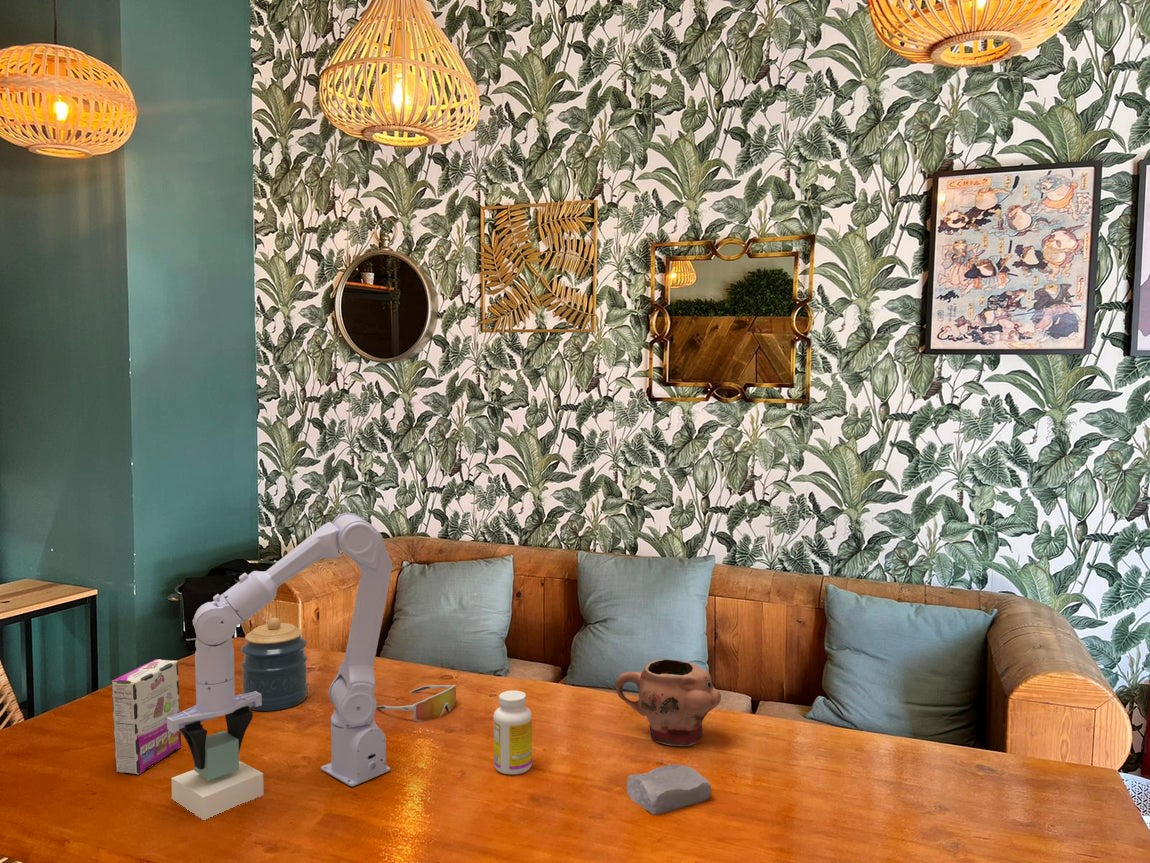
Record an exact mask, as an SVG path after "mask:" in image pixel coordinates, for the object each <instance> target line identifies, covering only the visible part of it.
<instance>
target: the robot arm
mask: <svg viewBox="0 0 1150 863" xmlns="http://www.w3.org/2000/svg"><path fill="white" fill-rule="evenodd" d="M339 551H341V552H342V553H343V554H345V555H346V556H347V557H349V558H351V559H352V561H353V562H354V563H355V565H357V567H358V568H359V569H360V571H361V572H360V576H359V583H358V587H357V592H356V595H355V596H356V598H355V603H354V608H353V613H352V618H351V624H350V629H349V634H348V638H347V642H346V643H347V644H346V648H345V654H344V659H343V661H342V662H341V663H340V665H339V667H338V671H337V675H336V676H335V678H334V680H333V681H332V683H331V684H330V686H329V689H328V698H329V701H330V702H331V703H332V705H334V707H335V708H334V710H333V712H332V715H331V717H330V742H331V743H330V746H331V747H330V750H331V752H330V754H331V758H330V759H331V762H329V763H327V764H324V765H321V767H320V770H321V771H323V772H325V773H326V774H328V775H330V776H331V777H334V778H335V779H337V780H338V781H340V782H342V783H344V784H346V785H347V786H349V787H355V786H357V785H360V784H361V783H364V782H367V781H369V780H371V779H373V778H377V777H378V776H381V775H383V774H386V773H388V772H390V771H391V766H388V765H387V738H386V734H385V732H384V731H383V730H382V729H381V728H379V726H378V725H377V723H376V721H375V713H376V710H377V708H376V707H377V699H376V697H375V687H376V678H375V671H374V670H375V668H374V665H375V659H376V655H377V649H378V644H379V639H380V634H381V630H382V626H383V625H382V624H383V618H384V613H385V609H386V603H387V597H388V593H389V587H390V582H391V579H392V578H391V577H392V572H393V561H392V559H391V558H390V555H389V553H388V550H387V547H386V545H385V542H384V539H383V535H382V534H381V533H380V531H379V530H377V529H376V528H375V527H374V525H372V523H370V522H368V521H367V520H364V519H363V518H362V517H360V516H359V515H358V514H356V513H353V512H344V513H340V514H339V515H337V516H336V517H334V518H333V520H332V521H328V522H326V523H324V524H322V525H321V526H319V528H318V529H317V530H316V531H314V532H313V533H312V534H310V535H309V536H308V537H306V538H305V539H304V540H303V541H302V542H301V543H299V544H297V545H296V546H295V547H294V548H293V549H292V550H290V551H289V552H288V553H286V554H285V555H284V556H283V557H281V558H280V559H279V560H278V561H277V562H276V563H275V564H273V565H272V566H270V567H269V568H268V569H266V570H265V571H262V570H261V571H259V570H253V571H251V572H250V573H248V574H247V573H246V572H244V573H242V574H241V575H239V577H238V580H239V581H238V582H236V583H235V584H234V585H233V586H230V587H229V588H228V589H227V590H226V591H225V592H223V593H221V594H219V593H217V594H215V595H214V596H213V597H212V599H213V601H207V602H205V603H203V604H201V605H200V606H199V607H198V608H197V610H196V611H195V614H194V616H193V619H192V626H193V627H194V632H195V636H196V639H195V641H194V642H195V644H194V645H195V648H196V650H195V653H194V666H195V667H194V668H195V669H194V670H195V672H194V673H195V701H196V702H195V705H193V706H191V707H189V708H186V709H184V710H182V711H180V713H178V714H175V715H173V716H169V717H167V729H168V730H169V731H171V732H172V733H173V732H177V731H179V730H180V731H181V735H182V736H183V738H184V739H185V741H186V743H187V745H188V747H189V750H190V753H191V755H192V760H193V765H194V764H195V767H197V768H198V769H200V770H201V769H204V767H205V742H206V736H208V730H207V729H205V728H204V727H203V726H204V725H203V724H201V723H203V722H206V721H210V720H213V719H216V718H218V717H223V716H224V717H225V722H226V729H227V733H229V734H231V735H232V736H234V737H235V738H237V739H238V741H239V752H240V751H241V747H242V743H243V740H244V736H245V734H246V732H247V729H248V727H249V725H250V723H251V722H252V720H253V718H254V717H253V714H254V712H253V711H251V709H249V707H252V706H255V707H257V706H261V705H262V694H260V693H258V692H256V691H255V692H251V693H246V694H242V693H241V694H236V680H235V679H236V678H235V648H234V646H233V636H234V634H235V633H236V628H237V626H238V625H242V624H244V623H245V622H246V621H248V620H249V619H250V618H251V617H253V616H254V615H255V614H257V613H258V612H260V610H262V609H264V607H266V606H267V605H269V604H270V603H271V602H273V601H274V600H275V599H276V597H277V592H278V588H279V587H280V586H281V585H283V584H284V583H287V581H289V580H290V579H292V578H294V577H295V576H296V575H298V574H300V573H301V572H302V571H304V570H305V569H306V568H308V567H309V566H311V565H312V564H314V563H315V562H317V561H319V560H320V559H321V560H322V559H337V558H338V559H339V558H341V555H340V553H339Z"/></svg>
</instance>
